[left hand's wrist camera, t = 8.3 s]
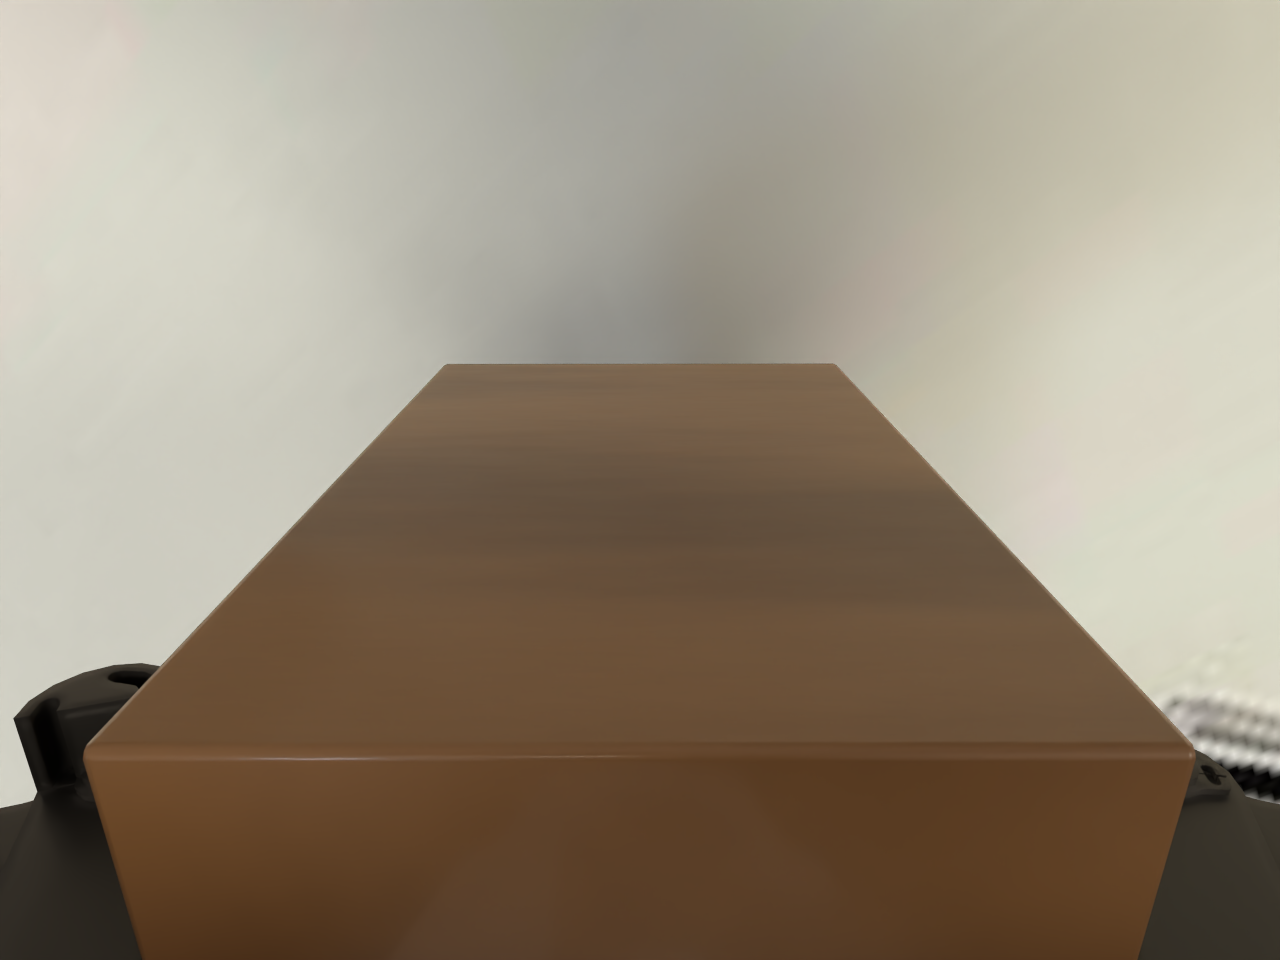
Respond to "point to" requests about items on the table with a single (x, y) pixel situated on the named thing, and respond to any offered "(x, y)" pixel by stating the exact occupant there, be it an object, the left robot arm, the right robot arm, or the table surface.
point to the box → (639, 702)
